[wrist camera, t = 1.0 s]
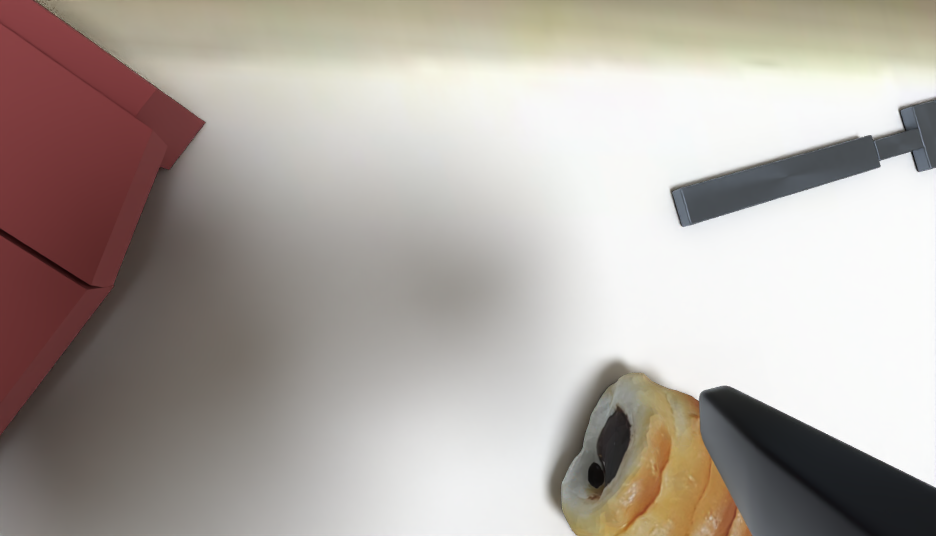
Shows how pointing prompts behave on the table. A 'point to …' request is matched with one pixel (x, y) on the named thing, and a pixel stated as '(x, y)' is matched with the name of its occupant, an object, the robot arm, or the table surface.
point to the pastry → (647, 469)
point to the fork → (809, 169)
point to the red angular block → (68, 184)
